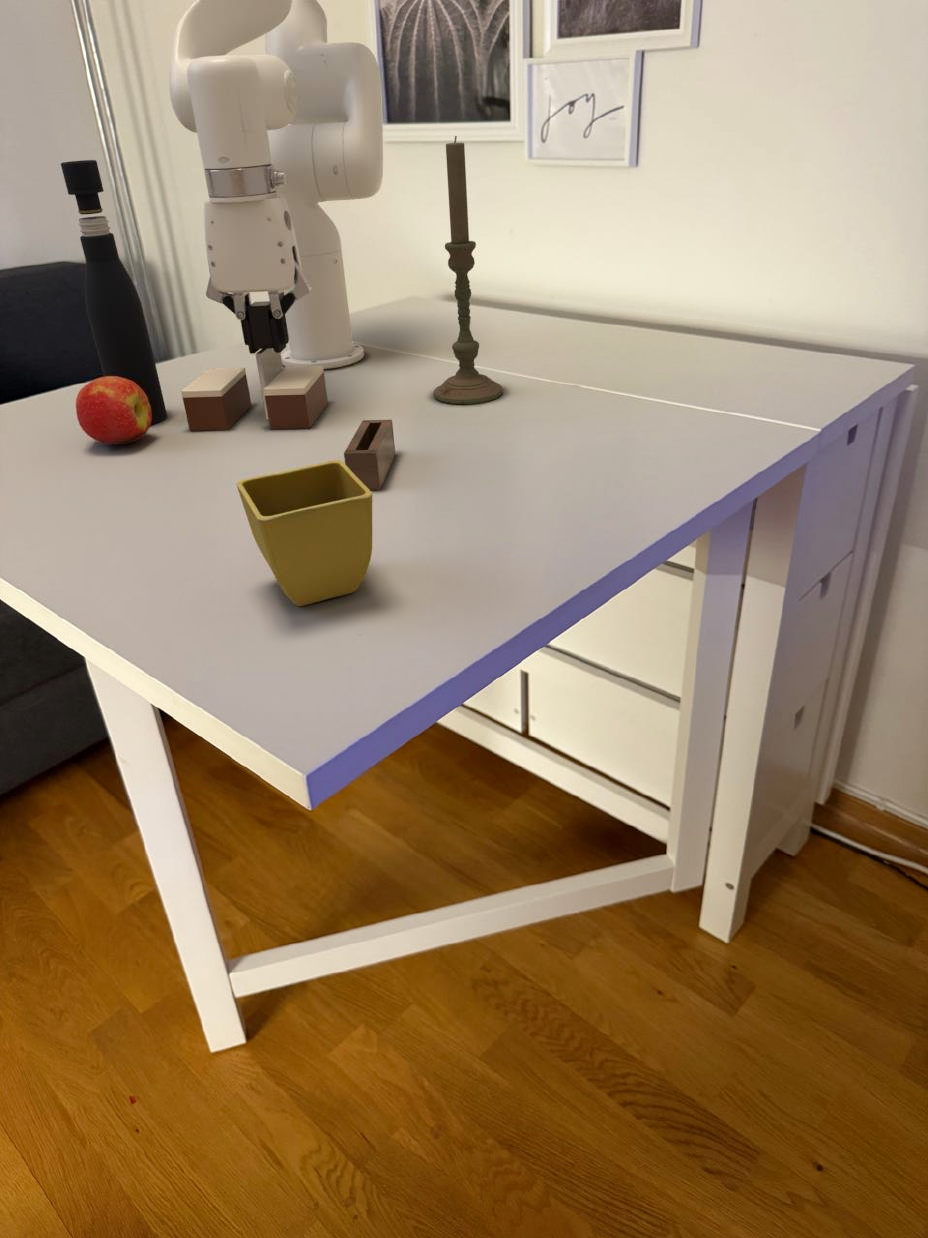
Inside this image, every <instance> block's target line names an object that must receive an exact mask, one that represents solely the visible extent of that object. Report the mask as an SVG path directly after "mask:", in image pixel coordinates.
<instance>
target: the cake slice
mask: <svg viewBox="0 0 928 1238" xmlns="http://www.w3.org/2000/svg"><path fill="white" fill-rule="evenodd" d="M324 370H325V369H323V366H295V367H286V366H284V367H283V370H282V371H281V372H280V373H279V374H278V375H277V376H276V377H275V378H274V379H273V380H272V381H271V382H270V383H269V384H268V385H267V386H266V387H265V388H264V395H265V401H266V406H267V412H268V418H269V420H268V422H269V423H268V424H269V429H270V430H296V429H299V430H301V429H302V430H303V429H311V427H312V426H313V425H314V424H315V422H316V421H317V419H318V418H319V417H320V415H321V414H322V412H324V410H325V408H326V407H327V406H328V405H329V400H328V394H327V393H328V392H327V387H326V386H327V385H326V380H325V379H326V378H325V371H324Z"/></svg>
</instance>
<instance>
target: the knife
mask: <svg viewBox="0 0 928 1238" xmlns="http://www.w3.org/2000/svg"><path fill="white" fill-rule="evenodd" d="M248 313H249V319H250V325H251V331H252V337H253V344H254V349H259V350H258V351H257V352H256V353H255V359H256V365H257V371H258V378H259V383H260V390H261V396H262V402H263V409H264V415H265V420H267V421H269V418H268V412H267V406H266V401H265V395H264V388H265V387H266V386H267V385H268V384H269V383H270V382H271V381H272V380H273V379H274V378H275V377H276V376H277V375H278V374H279V373H280V372H281V371H282V370H283V369H284V367H283V366H284V365H283V364H282V359H281V356H282V354H281V353H282V352H281V353H276V352H274V349H273V348H274V347H273V340H272V334H271V328H270V319H271V318H272V315H271V313H272V310H271V305H270V300H268V301H267V300H265V301H263V300H262V301H254V302H251V305H249V306H248Z"/></svg>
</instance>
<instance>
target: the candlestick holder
mask: <svg viewBox="0 0 928 1238" xmlns="http://www.w3.org/2000/svg"><path fill="white" fill-rule="evenodd" d="M465 148H466V147H465V143H464V142H457V135H455V136H454V141H453V142H448V143H446V144H445V157H446V174H447V175H446V176H447V191H448V210H449V225H450V227H449V228H450V241H449V242H446V243H445V244H444V249H445V250H446V252H447V253H448V254H449V258H448V260H447V266H448V268H449V269H450V270H451V271H452V272H453V273H455V275H456V278H455V281H454V284H455V286H454V288H455V289H454V297H455V299H456V301H457V303H456V306H457V315H458V316H457V320H458V325H459V332H458V337H457V340H456V341H454V342H453V343H452V345H451V348H452V349H451V350H452V351H453V352H452V353H453V355H454V357H455V359H456V360H457V361H458V368H459V369H458V370H457V371H456V372H455V375H452V376H450V377H448V378H446V379H445V381H443V382H442V383H441V384H440V385H439V386H437V387H435V388H434V390H433V397H434V398H435V400H436V401H439V402H441V403H445V404H448V405H449V404H450V405H474V404H475V405H476V404H483V403H487V402H491V401H493V400H495V399H497V398H499V397H501V396H502V394H503V391H504V389H503V386H502V385H501V384H500V383H499V382H496V381H494V380H493V379H491V377H489V376H487V375H485V374H482V373H480V372H479V371H478V370H477V369H476V367H475V365H476V364H475V359H476V358H477V357H478V355H479V349H480V343H479V341H477V340H475V339H474V337H473V335H472V331H471V319H472V317H471V315H470V314H471V309H470V306H471V304H470V299H471V298H472V289H471V288H470V287H471V285H470V282H471V281H470V279H469V276H468V275H469V272H470V271H471V270H473V268H474V266H475V263H476V262H475V258H474V256H473V255H472V254H473V251H474V250H475V249H476V246H477V243H476V241H474V240H470V233H469V231H470V230H469V214H468V213H469V212H468V211H469V210H468V209H469V208H468V193H467V191H468V190H467V174H466V173H467V172H466V171H467V170H466V152H465V151H466V150H465Z"/></svg>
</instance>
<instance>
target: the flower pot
mask: <svg viewBox="0 0 928 1238" xmlns="http://www.w3.org/2000/svg"><path fill="white" fill-rule="evenodd" d="M235 485H236V488H237V491H238V493H239V494H238V495H239V497H240V500H241V504H242V506H243V509H244V512H245V515H246V519H247V521H248V524H249V527H250V530H251V533H252V536H253V538H254V540H255V543H256V545H257V547H258V550H259V552H260V553H261V554H262V556H263V558H264V560H265V561H266V563H267V565H268V566H269V568H270V571H271V572H272V574H273V576H274V577H275V580H276V582H277V584H278V585H279V587H280V589H281V590H282V592H283V593H284V595H285V596H286V597H287V598H288V599H289V600H290V601H291V602H292V603H293V604H294V605H295V606H297V607H303V606H307V605H310V604H314V603H318V602H321V601H325V600H329V599H333V598H338V597H340V596H344V595H348V594H352V593H354V592H356V591H357V590H358V589H359V587H360V586H361V584H362V582H363V581H364V578H365V576H366V575H367V572H368V569H369V567H370V563H371V560H372V559H371V558H372V554H373V553H372V552H373V492H372V490H369V489H368V488H367V487H366V486H365V485H364V484H363V483H362V482H361V481H360V480H359V479H358V478H357V477H356V476H355V475H354V473H353V472H352V471H351V470H350V469H349V468H348V467H347V466H346V465H345V462H343V461H341V460H340V459H336V460H329V461H326V462H321V463H317V464H313V465H308V466H307V465H306V466H303V467H299V468H295V469H291V470H286V471H281V472H274V473H269V474H265V475H264V474H263V475H260V476H254V477H250V478H245V479H241V480H237V481H236V483H235Z"/></svg>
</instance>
